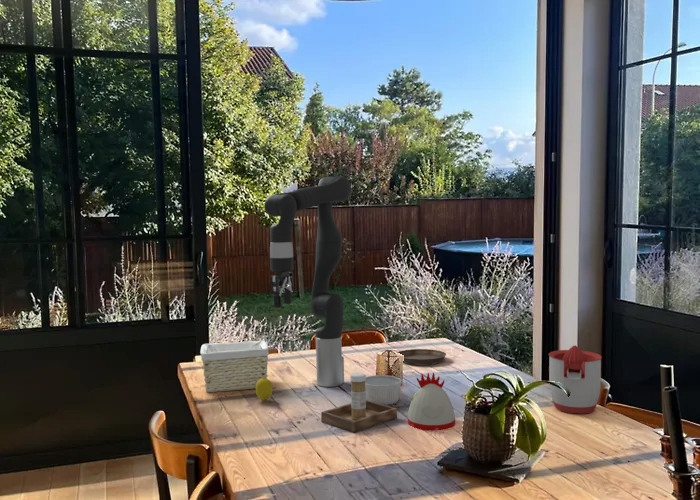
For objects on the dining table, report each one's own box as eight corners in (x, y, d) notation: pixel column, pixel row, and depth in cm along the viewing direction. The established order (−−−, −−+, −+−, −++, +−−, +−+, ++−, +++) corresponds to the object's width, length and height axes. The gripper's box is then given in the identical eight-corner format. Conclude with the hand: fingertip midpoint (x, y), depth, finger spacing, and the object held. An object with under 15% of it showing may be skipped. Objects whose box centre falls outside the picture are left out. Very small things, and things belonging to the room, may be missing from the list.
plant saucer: (397, 355, 282) (397, 347, 282) (445, 356, 279) (445, 348, 279) (394, 366, 261) (394, 358, 261) (446, 367, 259) (446, 359, 259)
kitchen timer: (406, 415, 199) (406, 367, 198) (451, 415, 199) (451, 366, 198) (409, 431, 185) (408, 379, 184) (457, 430, 185) (457, 378, 184)
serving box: (364, 408, 207) (364, 399, 207) (397, 418, 197) (396, 408, 196) (321, 421, 194) (321, 412, 194) (354, 433, 184) (353, 422, 184)
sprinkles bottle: (362, 414, 198) (361, 371, 198) (369, 419, 194) (368, 374, 193) (348, 417, 196) (347, 373, 196) (355, 421, 192) (354, 376, 191)
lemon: (269, 403, 214) (269, 379, 213) (253, 403, 215) (252, 379, 214) (274, 398, 219) (274, 375, 218) (259, 398, 220) (258, 374, 219)
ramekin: (409, 400, 215) (409, 379, 215) (384, 409, 206) (383, 387, 205) (379, 392, 224) (378, 372, 224) (353, 401, 215) (352, 380, 214)
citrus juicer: (546, 415, 196) (546, 350, 195) (549, 399, 213) (549, 339, 212) (602, 420, 191) (602, 353, 190) (601, 403, 207) (601, 341, 206)
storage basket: (201, 394, 226) (199, 352, 225) (202, 382, 242) (201, 343, 241) (270, 389, 231) (269, 348, 230) (267, 378, 247) (266, 339, 246)
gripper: (284, 257, 204) (285, 309, 205) (300, 254, 218) (301, 302, 219) (262, 257, 206) (263, 308, 207) (279, 254, 220) (280, 302, 221)
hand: (282, 305), depth 213 cm, fingers open, 8 cm apart
